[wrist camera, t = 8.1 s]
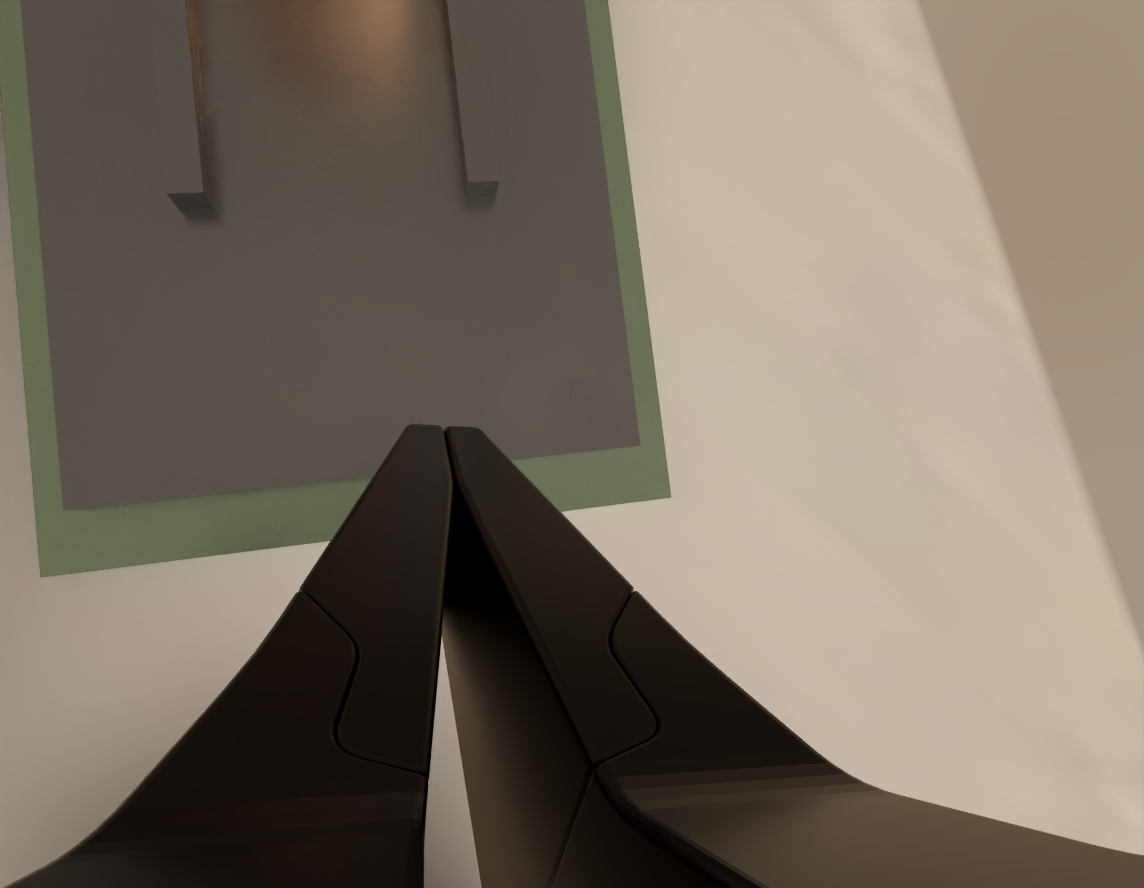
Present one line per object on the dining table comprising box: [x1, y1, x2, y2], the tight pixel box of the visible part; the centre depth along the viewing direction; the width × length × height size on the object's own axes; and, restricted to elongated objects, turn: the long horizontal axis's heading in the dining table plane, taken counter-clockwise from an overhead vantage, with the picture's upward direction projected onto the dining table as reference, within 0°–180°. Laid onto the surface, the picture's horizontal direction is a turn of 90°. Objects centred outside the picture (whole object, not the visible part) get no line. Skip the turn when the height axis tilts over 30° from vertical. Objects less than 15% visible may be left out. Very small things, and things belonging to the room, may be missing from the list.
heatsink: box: [0, 0, 671, 577], centre depth 19 cm, size 25×16×5 cm, turn 7°
